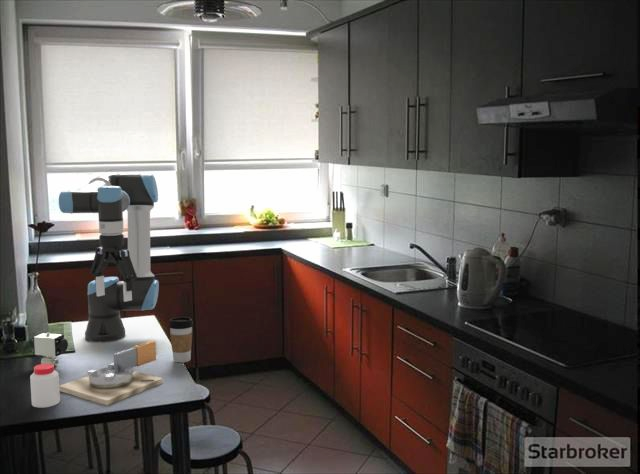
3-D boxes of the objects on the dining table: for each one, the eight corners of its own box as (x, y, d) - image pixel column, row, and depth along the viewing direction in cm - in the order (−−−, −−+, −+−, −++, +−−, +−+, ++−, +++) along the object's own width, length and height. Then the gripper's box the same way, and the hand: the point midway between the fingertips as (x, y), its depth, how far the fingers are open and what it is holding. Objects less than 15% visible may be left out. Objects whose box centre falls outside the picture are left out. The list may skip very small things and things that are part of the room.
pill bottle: (59, 406, 191) (57, 369, 190) (30, 409, 189) (27, 372, 188) (61, 396, 199) (59, 361, 197) (33, 399, 197) (31, 363, 195)
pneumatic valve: (61, 370, 222) (59, 335, 220) (30, 367, 224) (28, 333, 223) (70, 364, 227) (69, 331, 226) (40, 362, 230) (38, 329, 228)
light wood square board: (115, 370, 222) (115, 365, 222) (162, 382, 210) (162, 377, 210) (58, 390, 203) (58, 385, 203) (107, 405, 192) (106, 399, 192)
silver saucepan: (108, 391, 198) (107, 364, 197) (80, 383, 205) (79, 357, 203) (168, 368, 218) (167, 344, 217) (140, 361, 225) (139, 337, 224)
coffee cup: (164, 362, 230) (163, 320, 228) (178, 355, 238) (177, 314, 236) (185, 365, 227) (184, 322, 225) (198, 357, 235) (197, 316, 233)
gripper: (77, 232, 218) (80, 295, 221) (127, 238, 204) (130, 305, 207) (96, 230, 224) (99, 291, 227) (146, 235, 210) (148, 300, 213)
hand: (114, 298), depth 217 cm, fingers open, 13 cm apart
